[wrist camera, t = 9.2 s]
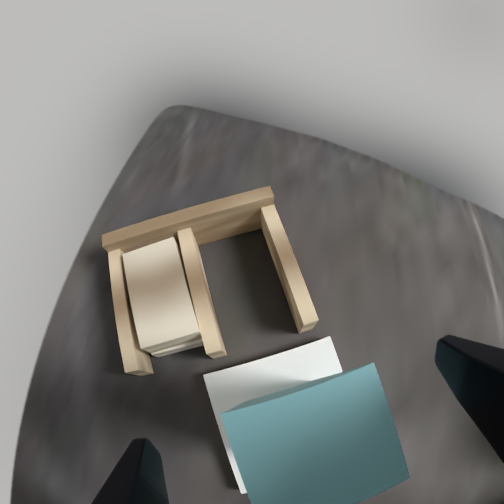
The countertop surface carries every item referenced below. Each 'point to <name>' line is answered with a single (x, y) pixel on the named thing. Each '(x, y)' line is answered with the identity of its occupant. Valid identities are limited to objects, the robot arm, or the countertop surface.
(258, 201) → the oak rack
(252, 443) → the teal rectangular block
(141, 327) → the offcut top
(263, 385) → the white pad
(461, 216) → the countertop surface
